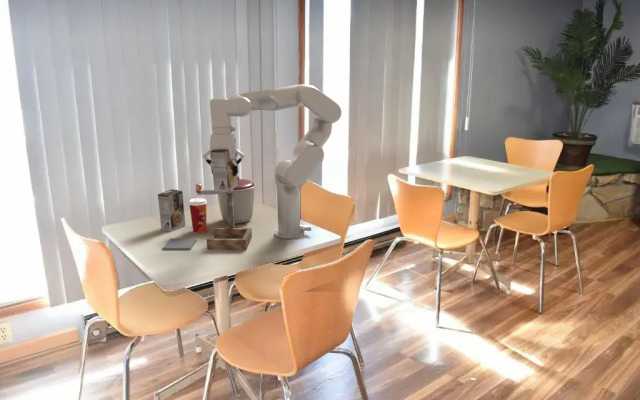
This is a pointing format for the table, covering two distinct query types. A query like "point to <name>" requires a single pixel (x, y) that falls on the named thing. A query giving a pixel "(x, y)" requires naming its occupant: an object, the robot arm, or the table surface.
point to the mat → (180, 244)
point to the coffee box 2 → (223, 171)
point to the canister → (239, 201)
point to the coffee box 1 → (171, 210)
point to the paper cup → (198, 214)
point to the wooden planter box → (230, 233)
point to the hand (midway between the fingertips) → (225, 175)
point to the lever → (210, 191)
